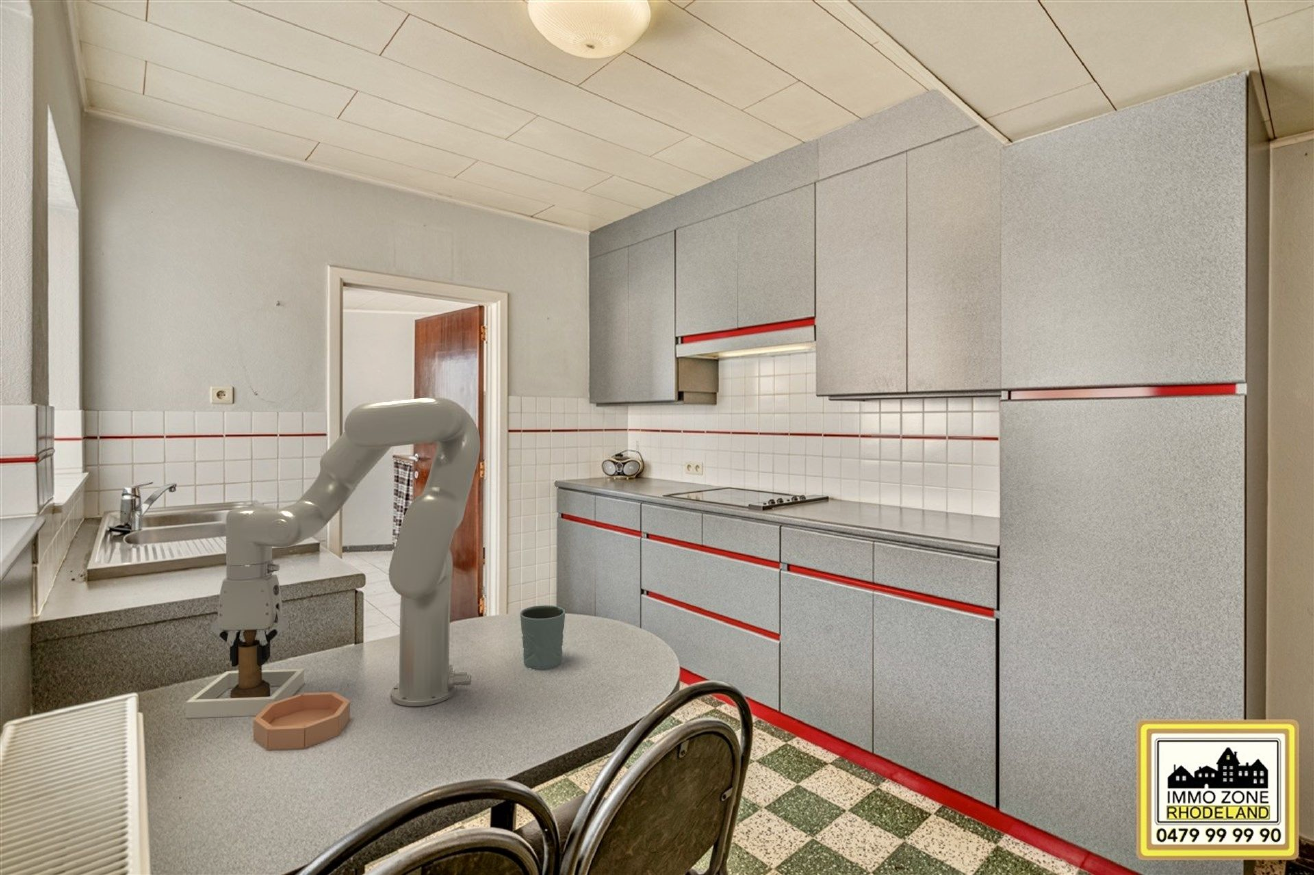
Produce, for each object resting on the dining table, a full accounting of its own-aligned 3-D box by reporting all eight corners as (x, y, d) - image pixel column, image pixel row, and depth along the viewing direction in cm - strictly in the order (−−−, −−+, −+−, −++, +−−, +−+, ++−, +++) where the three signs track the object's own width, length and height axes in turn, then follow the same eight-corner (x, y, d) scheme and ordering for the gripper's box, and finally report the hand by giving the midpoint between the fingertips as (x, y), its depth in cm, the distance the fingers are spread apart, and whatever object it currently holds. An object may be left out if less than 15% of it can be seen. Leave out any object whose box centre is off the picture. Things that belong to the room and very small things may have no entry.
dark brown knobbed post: (250, 708, 120) (249, 615, 120) (221, 705, 122) (220, 612, 121) (277, 693, 127) (277, 604, 126) (250, 690, 128) (249, 602, 128)
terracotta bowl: (357, 709, 121) (357, 691, 121) (330, 747, 108) (330, 727, 108) (278, 712, 120) (278, 694, 119) (241, 751, 106) (241, 730, 106)
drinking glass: (573, 661, 148) (574, 610, 147) (543, 675, 139) (544, 621, 139) (540, 651, 153) (541, 602, 153) (509, 665, 145) (510, 612, 144)
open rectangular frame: (304, 683, 132) (304, 669, 132) (273, 714, 118) (273, 699, 118) (226, 685, 130) (226, 671, 130) (185, 718, 116) (185, 702, 116)
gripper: (303, 565, 128) (303, 654, 129) (213, 566, 126) (214, 658, 127) (287, 574, 121) (287, 669, 122) (191, 576, 119) (192, 673, 119)
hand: (250, 662), depth 124 cm, fingers closed on dark brown knobbed post, 3 cm apart
